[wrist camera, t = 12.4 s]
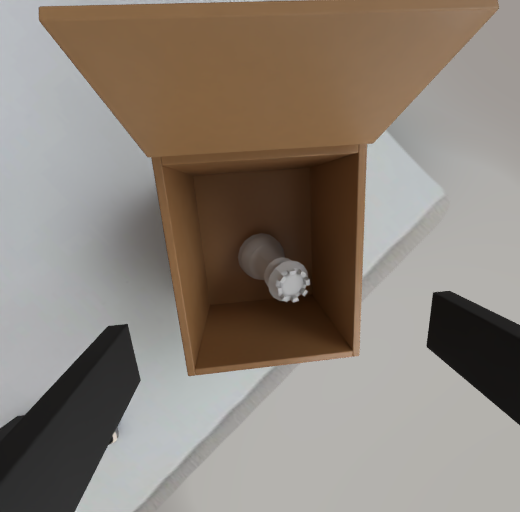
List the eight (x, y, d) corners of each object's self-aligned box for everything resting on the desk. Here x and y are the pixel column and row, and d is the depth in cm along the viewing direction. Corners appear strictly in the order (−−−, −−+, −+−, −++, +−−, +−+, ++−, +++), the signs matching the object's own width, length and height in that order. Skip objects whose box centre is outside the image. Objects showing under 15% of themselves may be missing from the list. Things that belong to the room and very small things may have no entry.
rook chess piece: (227, 256, 24) (251, 291, 17) (260, 222, 24) (298, 243, 17) (257, 283, 26) (290, 325, 19) (287, 252, 26) (332, 282, 19)
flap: (147, 157, 13) (147, 150, 13) (373, 143, 14) (372, 136, 14) (37, 20, 6) (37, 5, 6) (500, 8, 7) (497, -6, 7)
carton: (187, 170, 24) (150, 156, 14) (313, 162, 24) (367, 142, 14) (206, 307, 27) (188, 376, 17) (315, 296, 28) (359, 356, 18)
